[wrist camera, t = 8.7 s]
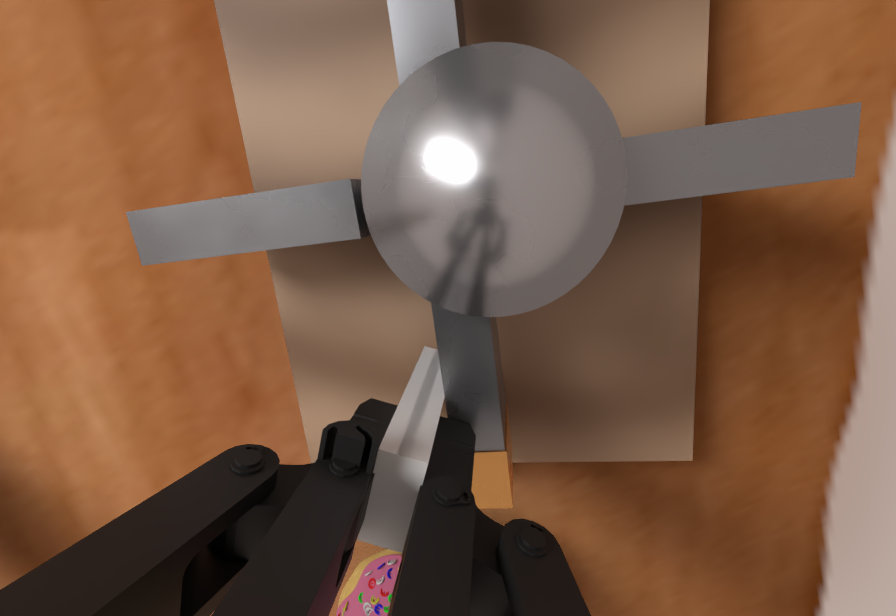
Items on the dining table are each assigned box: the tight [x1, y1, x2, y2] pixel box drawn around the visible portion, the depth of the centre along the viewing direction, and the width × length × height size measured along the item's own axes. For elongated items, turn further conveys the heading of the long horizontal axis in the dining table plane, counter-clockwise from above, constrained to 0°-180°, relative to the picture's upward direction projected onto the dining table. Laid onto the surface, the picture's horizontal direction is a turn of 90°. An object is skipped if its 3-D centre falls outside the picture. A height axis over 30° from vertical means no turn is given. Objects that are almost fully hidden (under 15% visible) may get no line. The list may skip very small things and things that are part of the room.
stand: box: [214, 0, 710, 463], centre depth 16 cm, size 22×16×4 cm
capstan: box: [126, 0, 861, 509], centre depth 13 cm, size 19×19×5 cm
